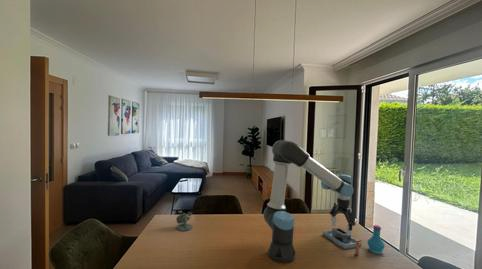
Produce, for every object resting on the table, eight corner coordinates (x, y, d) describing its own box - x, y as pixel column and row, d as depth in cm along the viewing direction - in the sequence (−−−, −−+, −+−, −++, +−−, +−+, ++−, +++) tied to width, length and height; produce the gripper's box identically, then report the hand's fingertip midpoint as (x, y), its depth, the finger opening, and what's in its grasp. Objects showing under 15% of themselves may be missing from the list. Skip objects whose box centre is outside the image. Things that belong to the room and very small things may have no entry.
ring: (350, 242, 155) (350, 234, 155) (341, 243, 153) (341, 235, 152) (339, 235, 165) (339, 227, 164) (330, 236, 162) (330, 228, 162)
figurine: (186, 232, 160) (186, 214, 160) (172, 229, 164) (173, 211, 164) (195, 226, 170) (195, 209, 169) (182, 223, 174) (182, 207, 173)
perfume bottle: (384, 256, 141) (385, 231, 140) (366, 251, 146) (367, 226, 145) (384, 249, 149) (386, 225, 148) (367, 245, 154) (369, 222, 153)
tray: (344, 249, 147) (344, 245, 147) (322, 234, 166) (323, 231, 166) (360, 246, 152) (361, 242, 152) (337, 232, 171) (338, 229, 170)
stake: (356, 255, 140) (357, 241, 140) (353, 254, 142) (354, 239, 142) (361, 254, 142) (362, 240, 141) (358, 253, 143) (359, 238, 143)
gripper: (363, 204, 147) (360, 238, 148) (334, 192, 171) (332, 222, 172) (354, 204, 145) (351, 239, 146) (326, 193, 168) (323, 223, 169)
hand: (340, 230), depth 159 cm, fingers open, 13 cm apart
